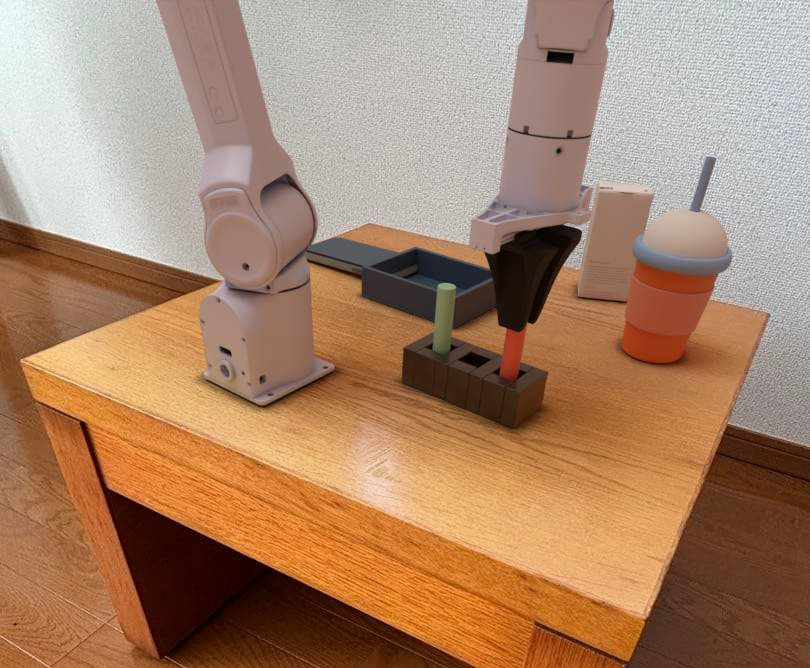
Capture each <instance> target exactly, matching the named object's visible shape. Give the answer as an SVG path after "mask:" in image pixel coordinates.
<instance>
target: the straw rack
mask: <svg viewBox="0 0 810 668" xmlns="http://www.w3.org/2000/svg"><path fill="white" fill-rule="evenodd" d="M433 338H434V331H432V332H431V333H429V334H426V335H425V336H423V337H421V338H419V339H417V340H415V341H413V342H411V343H409V344H406V345H405V346H404V347H403V348H402V364H401V365H402V366H401V367H402V368H401V369H402V370H401V383H403V384H405V385H407V386H409V387H412V388H414V389H416V390H419V391H422V392H424V393H425V394H429V395H430V396H431V395H432V396H434V397H436V398H438V399H441V400H443V401H446V402H448V403H450V404H453V405H455V406H458V407H459V408H463V409H465V410H466V411H469V412H472V413H475V414H476V415H479V416H482V417H484V418H487V419H489V420H491V421H493V422H495V423H498V424H499V423H500V424H501V425H502V426H503V425H504V426H506V427H508V428H510V429H515V428H517V426H519V425H520V424H521V423H522V422H524V421H525V420H526V419H528V418H529V417H531V416H532V415H533V414H535V413H536V412H537V411H539V410H540V409H541V408H542V406H543V405H542V404H543V401H544V396H545V391H546V387H547V381H548V376H549V371H547V370H544V369H541V368H539V367H536V366H533V365H531V364H528V363H525V362H522V361H521V362H520V367H519V373H518V379H517V380H515V381H514V382H513V381H511V380H509V379H506V378H503V377H501V376H499V374H500V367H501V361H502V355H503V354H500V353H498V352H495V351H493V350H489V349H487V348H484V347H482V346H478V345H475V344H472V343H469V342H467V341H464V340H461V339H458V338H456V337H453V336H451V346H450V352H449V353H447V354H446V355H443V354H441V353H438V352H435V351H433Z"/></svg>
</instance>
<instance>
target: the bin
mask: <svg viewBox="0 0 810 668" xmlns="http://www.w3.org/2000/svg"><path fill="white" fill-rule="evenodd" d="M413 262H416V263H417V271H416V272H415V273H412V274H410V275H408V276H405V277H403V278H402V277H399V276H395V275H392V274H389V273H390V272H391V271H394V270H396V269H398V268H401V267H403V266H406V265H408V264H411V263H413ZM442 283H450V284H453V285H455V286H456V295H455V305H454V316H453V326H452V330H454V329H456V328H458V327H460V326H463V324H466V323H467V322H469V321H471V320H473V319H475V318H477V317H479V316H480V315H482V314H484V313H487V312H489V311H490V310H492V309H494V308H496V299H495V291H494V284H493V279H492V274H491V271H490V267H486V266H482V265H478V264H475V263H471V262H470V261H469V262H468V261H465V260H462V259H459V258H455V257H452V256H448V255H446V254H441V253H438V252H435V251H432V250H428V249H425V248H421V247H418V246H413V247H411V248H408V249H405V250H403V251H400V252H399V253H397V254H394V255H392V256H389V257H386V258H384V259H381V260H378V261H376V262H373V263H370V264H368V265H365V266H362V275H361V297H363V298H366V299H368V300H371V301H374V302H377V303H379V304H383V305H385V306H388V307H392V308H394V309H397V310H400V311H402V312H405V313H408V314H411V315H414V316H416V317H419V318H422V319H424V320H428V321H430V322H434V323H435V313H436V300H437V287H438V285H439V284H442Z"/></svg>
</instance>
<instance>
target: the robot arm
mask: <svg viewBox="0 0 810 668" xmlns="http://www.w3.org/2000/svg"><path fill="white" fill-rule="evenodd" d="M155 2H156V5H157V9H158V12H159V14H160V18H161V21H162V24H163V28H164V30H165V33H166V37H167V39H168V42H169V45H170V49H171V52H172V55H173V58H174V61H175V64H176V68H177V70H178V73H179V77H180V80H181V83H182V86H183V89H184V92H185V95H186V99H187V101H188V102H187V103H188V105H189V107H190V110H191V113H192V117H193V120H194V123H195V126H196V129H197V133H198V136H199V138H200V142H201V144H202V147H203V151H204V154H205V155H204V156H205V157H204V163H203V168H202V172H201V176H200V181H199V185H198V192H197V193H198V198H199V201H200V204H201V207H202V210H203V216H204V229H203V240H204V241H203V243H204V247H205V248H204V249H205V251H206V254H207V257H208V260H209V262H210V263H211V265H212V266H213V268H214V270H215V271H216V272H217V273H218V274H219V275H220V276H221V277H222V278H223V280H222V282H221V284H220V285H219V286H218V287H217V288H216V289H215V290H214V291H212V292H211V293H209V294H207V295H206V296H204V298H203V299H202V300H201V302H200V305H199V309H198V311H199V314H198V316H199V324H200V329H201V335H202V343H203V348H204V354H205V360H206V366H207V370H206V371H204V372H203V378H204V379H206V380H208V381H210V382H212V383H214V384H216V385H218V386H220V387H222V388H224V389H226V390H228V391H230V392H232V393H234V394H236V395H238V396H240V397H242V398H244V399H246V400H248V401H250V402H252V403H254V404H256V405H258V406H266V405H269V404H270V403H272V402H274V401H276V400H278V399H280V398H282V397H285V396H286V395H288V394H290V393H293V392H294V391H296V390H298V389H300V388H302V387H304V386H306V385H308V384H310V383H312V382H315V381H316V380H318V379H320V378H322V377H324V376H326V375H328V374H330V373H333V372H334V371H335V365H334V364H333V363H331V362H329V361H326V360H324V359H321V358H319V357H316V356H315V344H314V341H315V340H314V322H313V321H314V319H313V302H312V301H313V300H312V282H311V281H312V279H311V268H310V265H309V263H308V260H307V259H306V250H307V249H308V248H309V247H310V246H311V245H312V244H314V241H315V239H316V237H317V233H318V227H319V220H318V213H317V208H316V207H315V204H314V202H313V199H312V198H311V196H310V194H308V193H307V191H306V190H305V189H304V187H303V186H302V184H301V182H300V180H299V178H298V175H297V172H296V169H295V165H294V164H295V163H294V161H293V159H292V157H291V156H290V155H289V154H288V152H287V151H286V150H285V149H284V147H283V146H282V145H281V144H280V143H279V142H278V141H277V139H276V138H275V135H274V132H273V128H272V124H271V120H270V117H269V113H268V109H267V105H266V101H265V98H264V94H263V90H262V87H261V83H260V79H259V75H258V70H257V67H256V64H255V63H256V62H255V60H254V55H253V51H252V48H251V45H250V41H249V37H248V32H247V29H246V25H245V22H244V18H243V13H242V10H241V6H240V3H239V0H155ZM526 5H527V6H526V13H525V18H524V19H525V21H524V26H523V33H522V34H523V35H522V39H521V41H520V42H519V44H518V46H517V53H516V62H515V67H514V68H515V69H514V75H513V85H512V92H511V100H510V107H509V115H508V123H507V130H506V138H505V145H504V151H503V152H504V153H503V161H502V167H501V176H500V183H499V191H498V194H497V195H496V196H495V198H493V200H492V201H491V202H490V203H489V204H488V206H487V207H485V209H484V210H483V211H482V212H481V213H480V214H478V215H476V216H474V217H472V218H471V221H470V229H469V239H468V248H469V249H472V250H474V251H475V250H476V251H479V252H483V254H484V256H485V258H486V261H487V264H488V268H489V269H490V271H491V274H492V279H493V284H494V291H495V299H496V307H495V309H496V318H497V325H498V326H499V327H502V328H504V329H510V330H513V331H516V332H521V331H522V330H524V328H525V326H526V324H527V325H528V324H530V325H534V324H536V323H537V321H538V320H539V318H540V316H541V313H542V311H543V309H544V306H545V304H546V302H547V300H548V297H549V295H550V292H551V290H552V289H553V285H554V283H555V281H556V279H557V277H558V276H559V273H560V272H561V270H562V268H563V266H565V263H566V261H567V260H568V259H569V257H570V255H571V254H572V253H573V251H574V250H575V249H576V248H577V247H578V246H579V244H580V242H581V241H582V235H583V231H582V230H581V229H580V228H577V227H574V226H570V225H575V226H580V225H584V224H586V223H589V222H590V217H591V213H592V209H590V206H591V201H592V195H593V191H594V187H593V186H590V185H586V184H583V180H584V175H585V170H586V165H587V160H588V156H589V151H590V146H591V141H592V137H593V131H594V126H595V122H596V117H597V112H598V107H599V103H600V97H601V92H602V89H603V88H602V87H603V83H604V77H605V72H606V70H607V69H606V68H607V63H608V58H609V49H608V47H607V39H608V38H609V37H610V35H611V33H612V31H613V26H614V21H615V17H616V16H615V14H616V13H615V9H614V5H615V0H527V4H526ZM566 224H570V225H566ZM527 321H528V323H527Z"/></svg>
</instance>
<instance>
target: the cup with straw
mask: <svg viewBox="0 0 810 668" xmlns="http://www.w3.org/2000/svg"><path fill="white" fill-rule="evenodd" d="M703 162H704V163H703V165H702V168H701V171H700V176H699V179H698V181H697V185H696V188H695V192H694V195H693V197H692V201H691V204H690V208H689V207H688V208H687V207H686V208H677V209H674V210H671V211H668V212H666V213H664V214H662V215H660V216H659V217H658V218H656V219H655V220H654V221H653V222H652V223H651V224H650V225H649V226H648V227H647V228H646V229H645V232H644V234H641V235H640V236H638V237H637V239H636V240H635V242H634V244H633V248H632V252H633V255H634V257H635V258H636V259H637V261H636V266H635V270H634V271H633V273H632V277H631V283H630V289H629V294H628V298H627V301H626V306H625V312H624V318H625V322H624V327H623V333H622V338H621V348H622V350H623V352H625V353H626V354H627V355H628V356H630V357H632V358H634V359H636V360H640V361H642V362H646V363H652V364H669V363H670V364H671V363H674V362H677V361H678V360H679V359H680V358H681V357H682V355H683V354H684V351H685V348H686V347H687V344H688V342H689V340H690V338H691V335H692V334H693V333H694V332H695V331H696V329H697V327H698V324H699V323H700V320H701V319H702V316H703V313H704V312H705V310H706V308H707V306H708V304H709V302H710V299H711V297H712V295H713V292H714V290H715V287H716V286H715V283H716V281H717V279H718V277H719V274H721V273H723V272H725V271H727V270H728V269H729V268H730V266H731V264H732V261H733V251H732V249H730V247H729V243H728V241H729V240H728V235H727V232H726V229H725V227H724V225H723V224H722V223H721V221H720V220H719V219H718V218H717V217H716V216H714V215H713V214H711V213H710V212H707V211H706V210H702V205H703V202H704V200H705V195H706V193H707V190H708V187H709V184H710V180H711V177H712V174H713V171H714V167H715V164H716V162H717V157H716V156H706V157H705V160H704V161H703Z"/></svg>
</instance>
